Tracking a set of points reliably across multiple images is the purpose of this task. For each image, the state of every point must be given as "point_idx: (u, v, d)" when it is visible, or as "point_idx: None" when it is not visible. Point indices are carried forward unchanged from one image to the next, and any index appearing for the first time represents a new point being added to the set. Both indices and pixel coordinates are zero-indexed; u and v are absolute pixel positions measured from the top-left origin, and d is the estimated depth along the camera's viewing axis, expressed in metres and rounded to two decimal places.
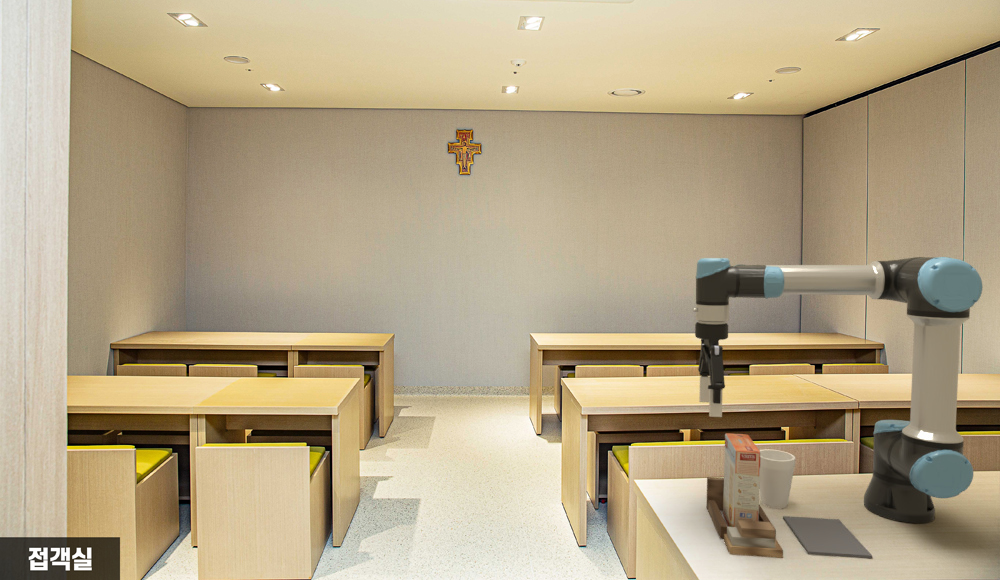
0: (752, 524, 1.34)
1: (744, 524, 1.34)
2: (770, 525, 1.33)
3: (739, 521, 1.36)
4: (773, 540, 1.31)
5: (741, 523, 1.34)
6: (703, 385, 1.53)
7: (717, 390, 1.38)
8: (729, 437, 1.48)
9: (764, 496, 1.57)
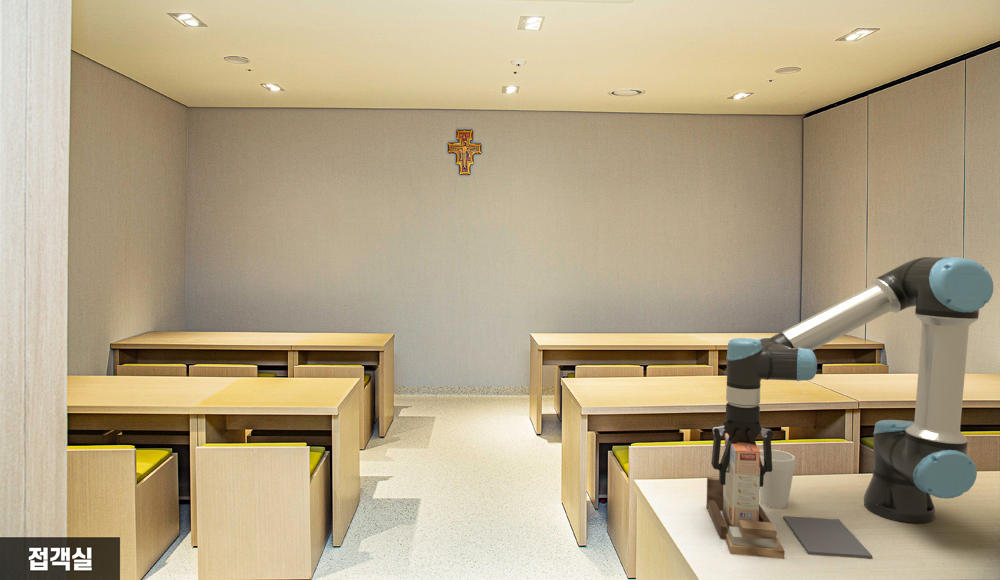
0: (754, 524, 1.34)
1: (746, 524, 1.34)
2: (772, 525, 1.33)
3: (741, 521, 1.36)
4: (774, 540, 1.31)
5: (743, 523, 1.35)
6: None
7: (719, 471, 1.46)
8: None
9: (764, 496, 1.57)
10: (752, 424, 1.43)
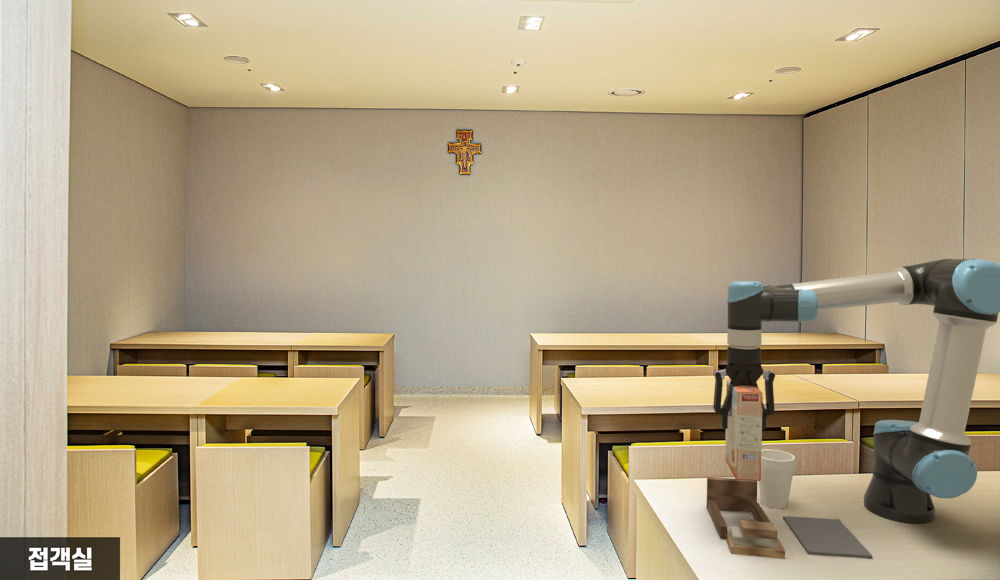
0: (755, 524, 1.34)
1: (746, 524, 1.34)
2: (773, 526, 1.33)
3: (742, 521, 1.36)
4: (775, 541, 1.31)
5: (743, 523, 1.35)
6: None
7: (721, 415, 1.45)
8: None
9: (764, 496, 1.57)
10: (754, 366, 1.42)
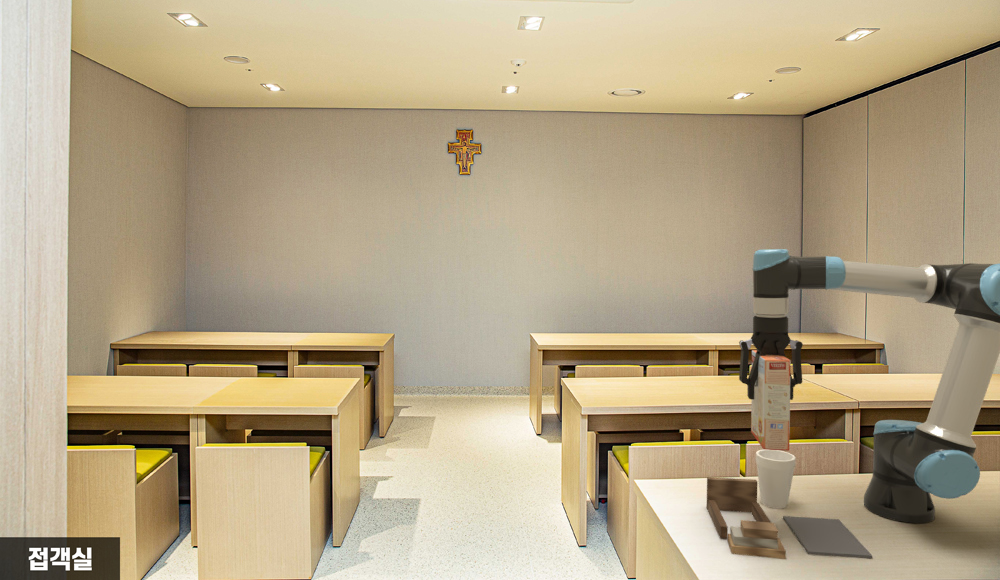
0: (755, 524, 1.34)
1: (747, 524, 1.34)
2: (773, 526, 1.33)
3: (743, 521, 1.36)
4: (776, 541, 1.31)
5: (744, 523, 1.35)
6: None
7: (747, 385, 1.43)
8: None
9: (764, 496, 1.57)
10: (781, 335, 1.40)
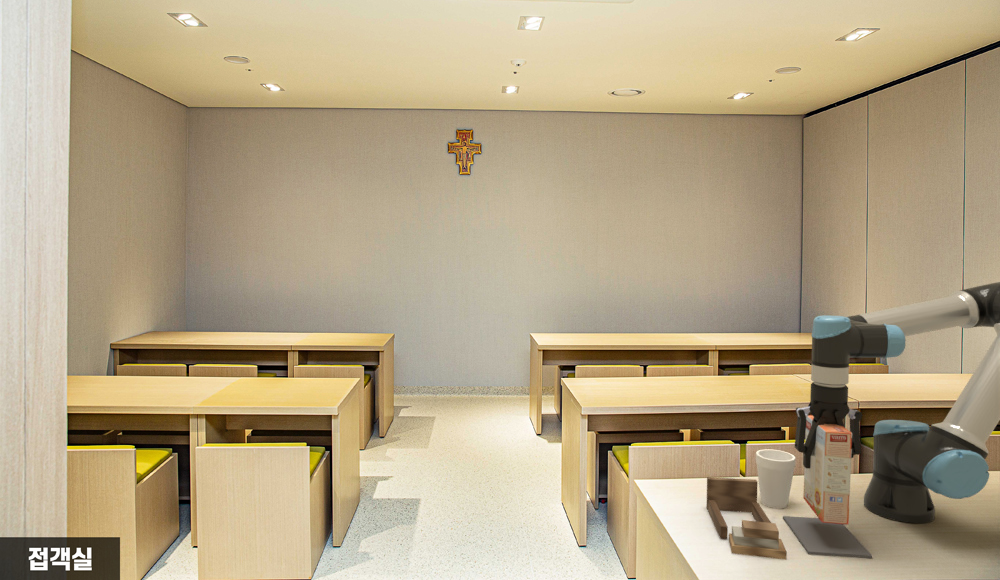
0: (756, 524, 1.34)
1: (748, 524, 1.34)
2: (775, 526, 1.33)
3: (744, 521, 1.36)
4: (776, 541, 1.31)
5: (745, 523, 1.35)
6: None
7: (803, 454, 1.40)
8: (812, 419, 1.42)
9: (764, 496, 1.57)
10: (840, 405, 1.37)
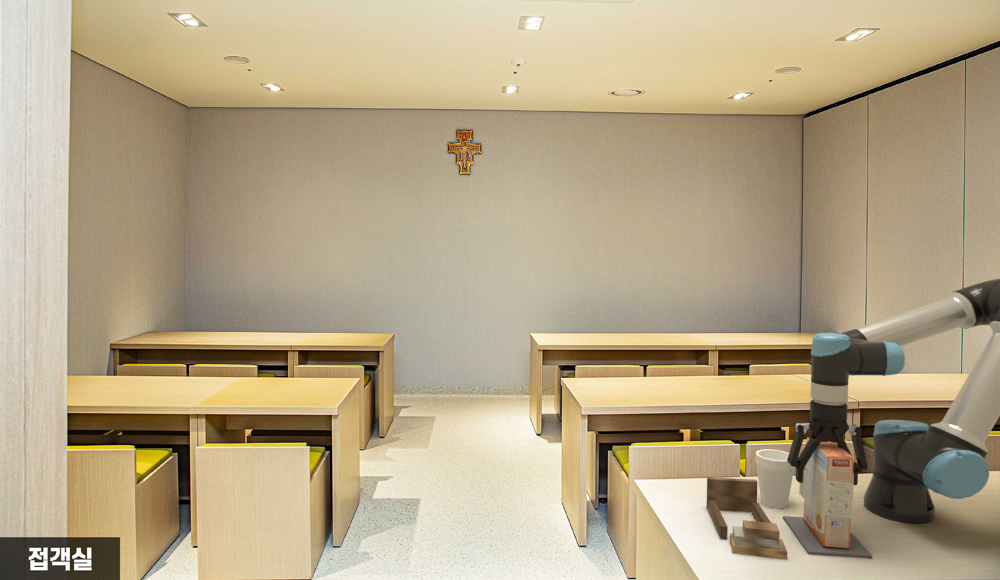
0: (757, 524, 1.34)
1: (749, 524, 1.34)
2: (775, 526, 1.33)
3: (745, 521, 1.36)
4: (777, 541, 1.31)
5: (746, 523, 1.35)
6: None
7: (796, 468, 1.40)
8: None
9: (764, 496, 1.57)
10: (838, 423, 1.37)
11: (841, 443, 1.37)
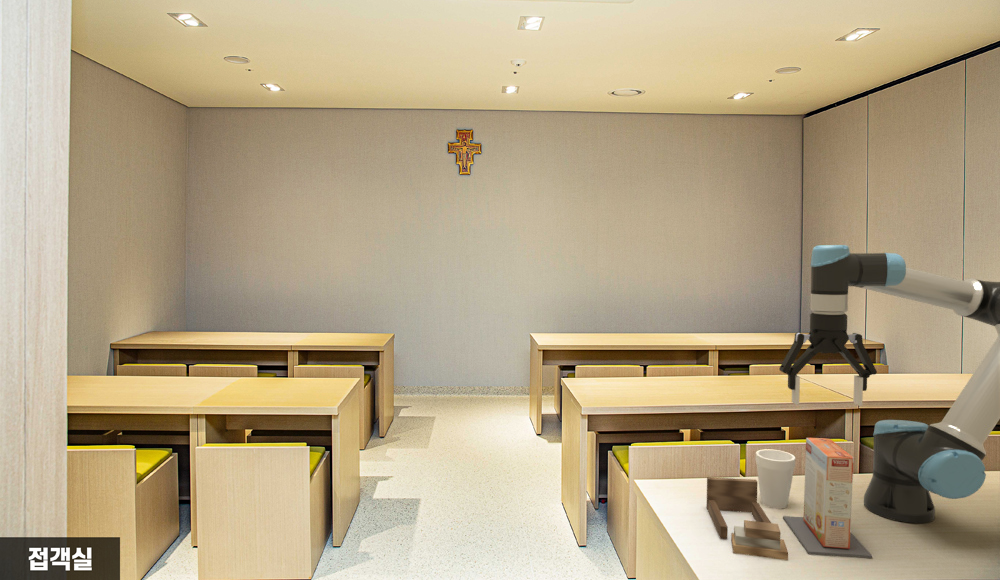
0: (758, 524, 1.34)
1: (750, 524, 1.34)
2: (777, 527, 1.33)
3: (746, 521, 1.36)
4: (778, 542, 1.30)
5: (747, 523, 1.35)
6: (855, 385, 1.39)
7: (788, 375, 1.40)
8: (813, 442, 1.42)
9: (764, 496, 1.57)
10: (837, 335, 1.37)
11: (844, 352, 1.37)
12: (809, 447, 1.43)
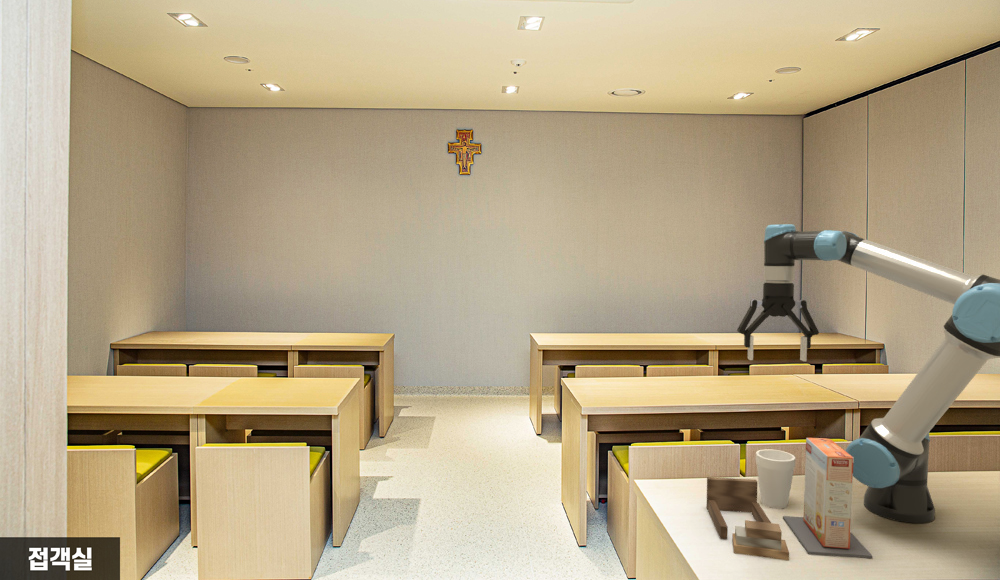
0: (759, 525, 1.34)
1: (751, 524, 1.34)
2: (778, 527, 1.33)
3: (747, 521, 1.36)
4: (779, 542, 1.30)
5: (748, 523, 1.35)
6: (801, 344, 1.63)
7: (744, 335, 1.65)
8: (813, 442, 1.42)
9: (764, 496, 1.57)
10: (785, 301, 1.62)
11: (791, 315, 1.61)
12: (809, 447, 1.43)
